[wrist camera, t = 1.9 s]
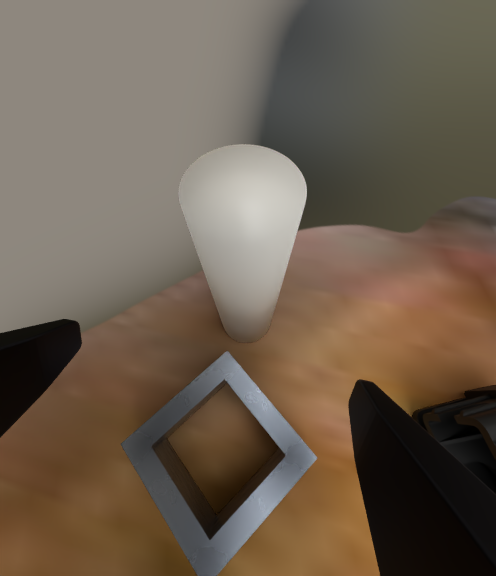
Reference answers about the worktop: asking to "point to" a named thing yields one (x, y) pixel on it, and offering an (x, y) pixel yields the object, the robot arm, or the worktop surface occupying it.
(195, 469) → the worktop surface
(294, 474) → the square frame
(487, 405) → the end cap
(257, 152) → the white tapered peg
